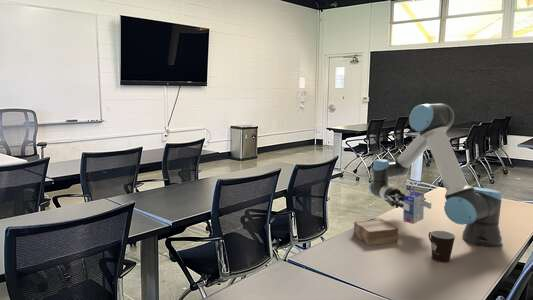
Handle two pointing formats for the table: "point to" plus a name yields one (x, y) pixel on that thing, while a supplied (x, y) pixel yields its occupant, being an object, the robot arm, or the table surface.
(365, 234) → the walnut plinth
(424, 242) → the table surface
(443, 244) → the coffee mug
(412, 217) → the ink cartridge box
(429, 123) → the robot arm
